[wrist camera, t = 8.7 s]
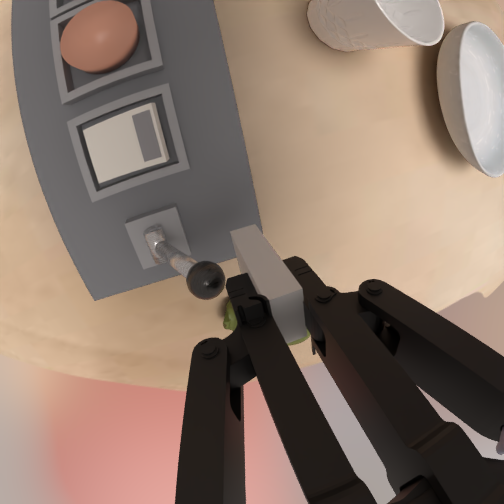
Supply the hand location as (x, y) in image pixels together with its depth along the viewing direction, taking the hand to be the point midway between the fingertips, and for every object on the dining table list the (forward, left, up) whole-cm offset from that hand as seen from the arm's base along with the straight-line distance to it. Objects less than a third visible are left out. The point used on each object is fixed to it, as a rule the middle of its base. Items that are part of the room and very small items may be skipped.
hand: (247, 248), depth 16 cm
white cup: (-14, -16, -9) cm, 23 cm away
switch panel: (+6, -12, -9) cm, 16 cm away
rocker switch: (+6, -8, -5) cm, 11 cm away
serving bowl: (-34, -9, -9) cm, 37 cm away
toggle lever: (+6, 0, -4) cm, 7 cm away
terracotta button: (+6, -16, -6) cm, 17 cm away
